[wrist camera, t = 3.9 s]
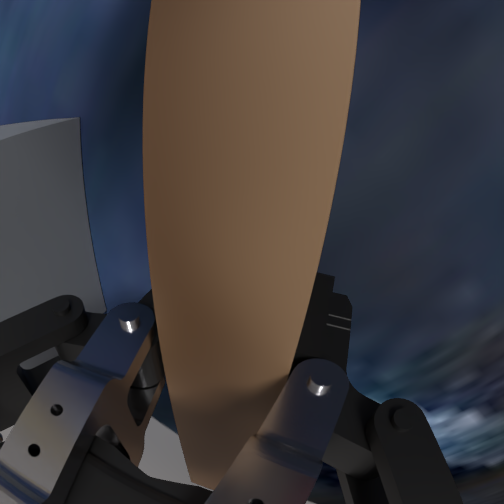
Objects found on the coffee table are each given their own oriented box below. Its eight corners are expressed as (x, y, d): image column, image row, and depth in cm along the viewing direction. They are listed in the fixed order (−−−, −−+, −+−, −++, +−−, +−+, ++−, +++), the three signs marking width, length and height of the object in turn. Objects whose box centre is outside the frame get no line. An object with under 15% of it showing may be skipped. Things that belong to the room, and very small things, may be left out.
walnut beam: (362, -43, 5) (359, -144, 1) (271, 429, 16) (245, 500, 12) (262, -50, 6) (183, -133, 2) (223, 414, 17) (191, 481, 13)
